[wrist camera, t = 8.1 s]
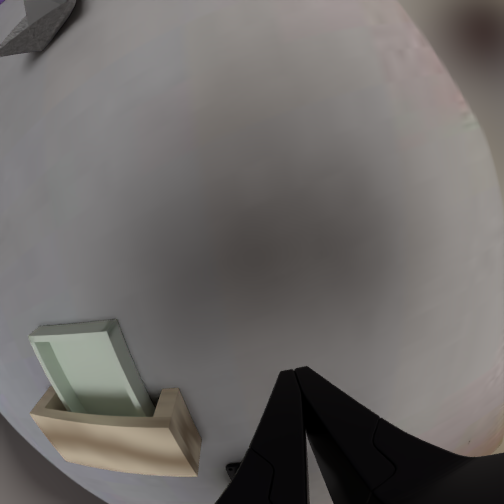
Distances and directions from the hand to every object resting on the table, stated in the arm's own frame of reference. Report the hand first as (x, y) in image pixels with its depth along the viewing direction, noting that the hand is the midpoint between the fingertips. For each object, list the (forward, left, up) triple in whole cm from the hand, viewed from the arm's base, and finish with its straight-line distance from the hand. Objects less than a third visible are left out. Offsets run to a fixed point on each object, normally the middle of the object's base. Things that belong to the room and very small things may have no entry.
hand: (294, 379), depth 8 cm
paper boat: (+25, +13, -12) cm, 31 cm away
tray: (-8, +16, -12) cm, 22 cm away
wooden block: (-13, +16, -12) cm, 24 cm away
